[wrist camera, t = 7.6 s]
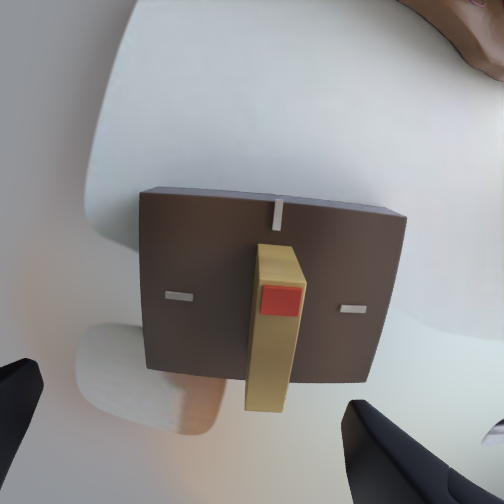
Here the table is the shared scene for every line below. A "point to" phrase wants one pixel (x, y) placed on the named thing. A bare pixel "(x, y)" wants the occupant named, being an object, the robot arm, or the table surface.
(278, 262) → the golden tan block
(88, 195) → the table surface
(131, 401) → the table surface
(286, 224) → the panel
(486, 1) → the plant
